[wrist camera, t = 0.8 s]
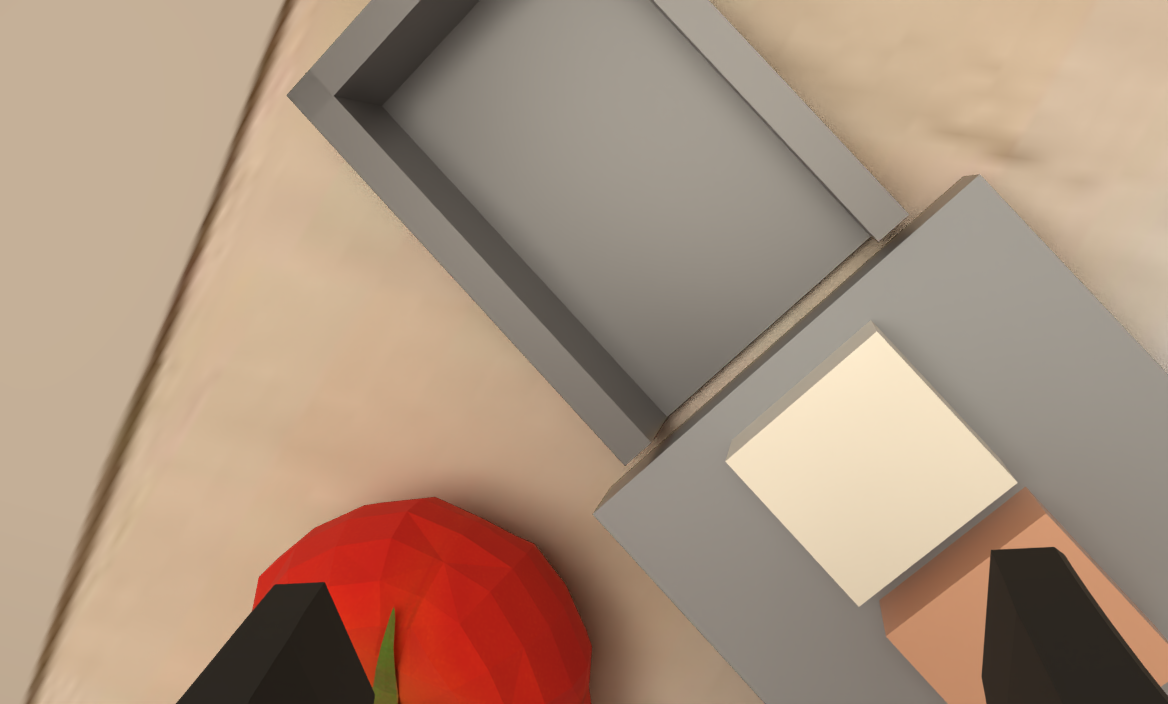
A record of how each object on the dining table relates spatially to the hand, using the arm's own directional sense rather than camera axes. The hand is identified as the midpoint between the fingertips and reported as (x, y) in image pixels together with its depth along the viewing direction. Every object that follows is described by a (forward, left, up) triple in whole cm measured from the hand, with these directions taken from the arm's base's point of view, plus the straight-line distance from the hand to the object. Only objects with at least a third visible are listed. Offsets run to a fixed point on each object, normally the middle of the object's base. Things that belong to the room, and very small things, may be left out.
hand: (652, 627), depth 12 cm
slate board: (-7, -1, -21) cm, 22 cm away
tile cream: (-4, -1, -18) cm, 19 cm away
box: (+7, -1, -21) cm, 22 cm away
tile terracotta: (-10, -1, -18) cm, 21 cm away
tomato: (0, +13, -22) cm, 25 cm away
